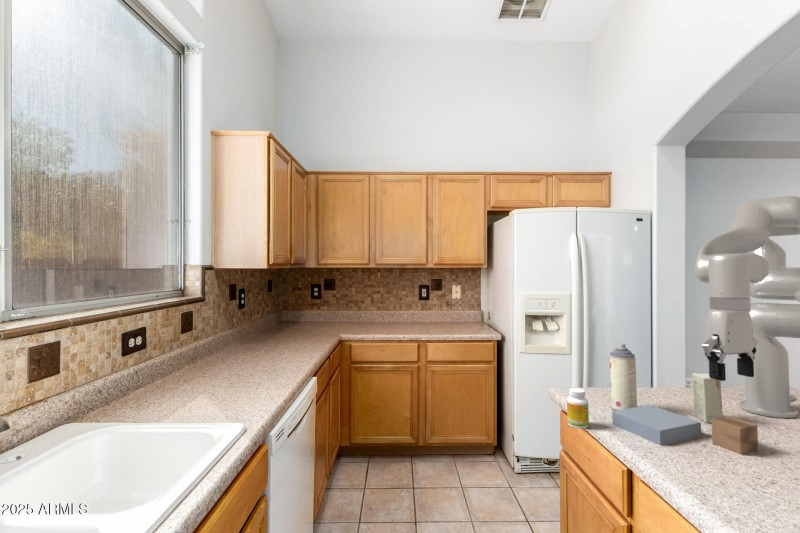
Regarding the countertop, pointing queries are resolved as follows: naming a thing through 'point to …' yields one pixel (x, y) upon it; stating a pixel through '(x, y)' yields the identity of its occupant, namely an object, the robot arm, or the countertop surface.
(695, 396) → the skincare box
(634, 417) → the slate base block
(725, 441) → the walnut cube
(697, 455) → the countertop surface
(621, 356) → the aerosol can
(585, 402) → the supplement bottle
